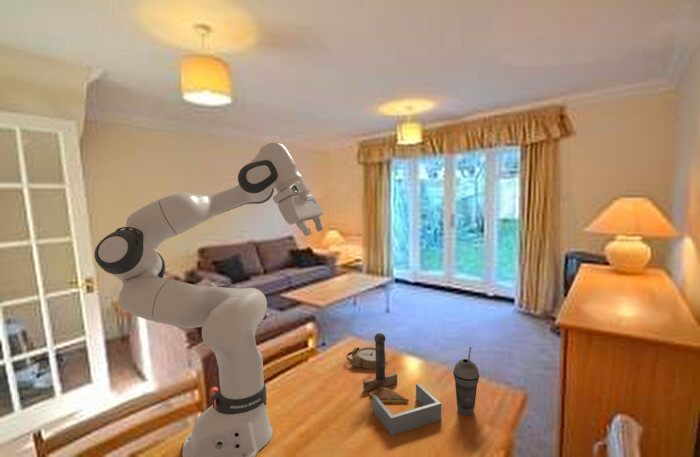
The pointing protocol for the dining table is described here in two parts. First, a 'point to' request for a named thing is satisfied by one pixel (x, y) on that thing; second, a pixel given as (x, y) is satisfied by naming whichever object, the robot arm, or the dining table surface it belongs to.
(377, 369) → the ball-topped joystick
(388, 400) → the shard
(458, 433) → the dining table surface
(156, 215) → the robot arm
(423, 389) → the box
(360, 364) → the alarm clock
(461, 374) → the beverage cup
